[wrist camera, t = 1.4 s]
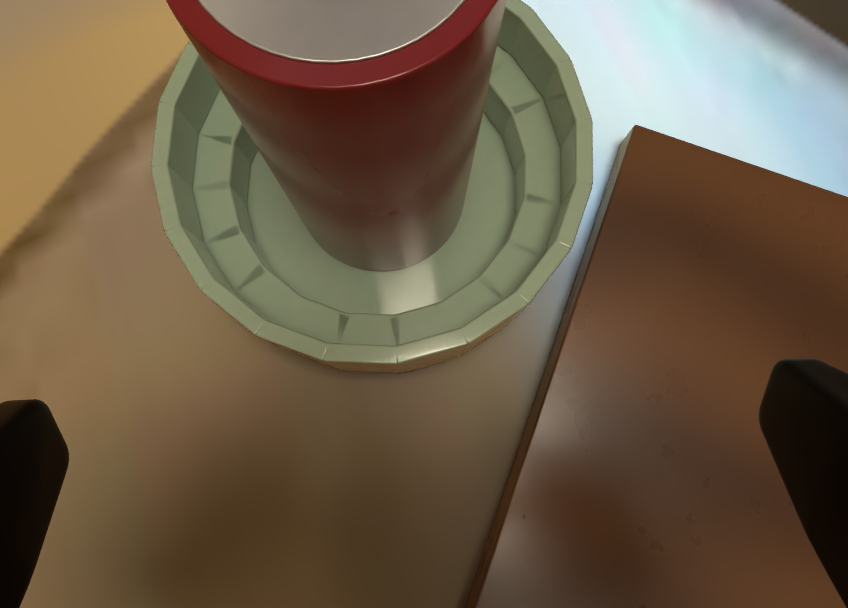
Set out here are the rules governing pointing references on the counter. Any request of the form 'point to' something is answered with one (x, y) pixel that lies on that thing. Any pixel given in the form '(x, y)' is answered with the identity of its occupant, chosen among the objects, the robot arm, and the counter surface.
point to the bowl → (392, 290)
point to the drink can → (358, 110)
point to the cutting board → (674, 395)
